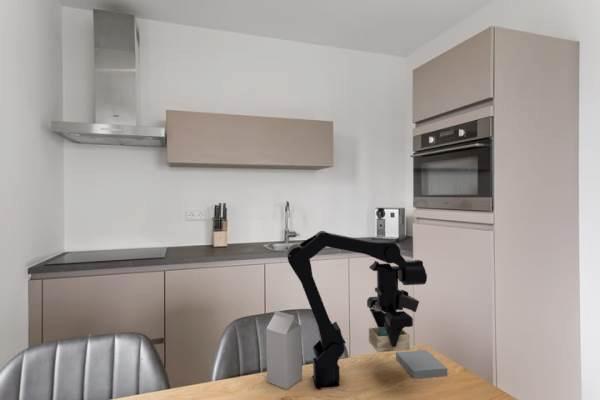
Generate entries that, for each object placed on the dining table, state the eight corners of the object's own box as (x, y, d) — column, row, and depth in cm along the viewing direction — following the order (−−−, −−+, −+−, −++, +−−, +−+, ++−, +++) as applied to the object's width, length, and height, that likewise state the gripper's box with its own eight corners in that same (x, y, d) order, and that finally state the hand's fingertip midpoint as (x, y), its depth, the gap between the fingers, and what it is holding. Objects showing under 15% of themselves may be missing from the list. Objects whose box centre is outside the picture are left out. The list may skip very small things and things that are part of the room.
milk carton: (286, 390, 91) (285, 319, 91) (266, 382, 96) (265, 314, 96) (302, 379, 97) (301, 312, 97) (283, 371, 101) (282, 307, 101)
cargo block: (384, 345, 94) (384, 333, 94) (378, 339, 98) (378, 327, 98) (398, 344, 95) (398, 331, 95) (392, 338, 99) (392, 326, 99)
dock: (414, 380, 95) (413, 371, 95) (396, 360, 107) (395, 352, 107) (447, 377, 97) (447, 368, 97) (426, 357, 109) (425, 349, 109)
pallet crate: (377, 352, 92) (377, 337, 92) (368, 341, 99) (368, 327, 99) (409, 349, 94) (409, 335, 94) (398, 339, 100) (398, 325, 100)
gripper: (431, 293, 88) (432, 353, 88) (400, 276, 107) (401, 326, 107) (390, 295, 87) (391, 357, 87) (366, 278, 105) (366, 329, 105)
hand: (388, 341), depth 96 cm, fingers closed on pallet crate, 7 cm apart
